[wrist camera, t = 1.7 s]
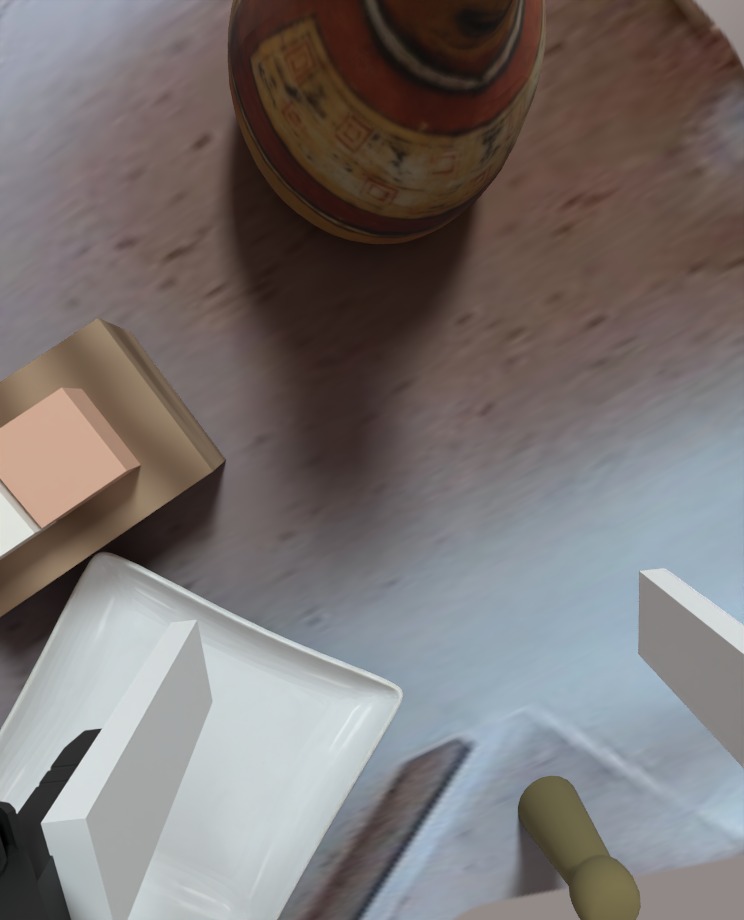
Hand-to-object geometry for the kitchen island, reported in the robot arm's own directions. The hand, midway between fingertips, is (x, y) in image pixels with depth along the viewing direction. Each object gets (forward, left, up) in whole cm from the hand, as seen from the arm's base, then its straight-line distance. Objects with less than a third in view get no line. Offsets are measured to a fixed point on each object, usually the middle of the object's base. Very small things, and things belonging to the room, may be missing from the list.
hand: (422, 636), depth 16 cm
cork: (-1, -37, -29) cm, 47 cm away
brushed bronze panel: (-15, +13, -29) cm, 35 cm away
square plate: (-23, -11, -30) cm, 39 cm away
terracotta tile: (-13, +13, -22) cm, 29 cm away
